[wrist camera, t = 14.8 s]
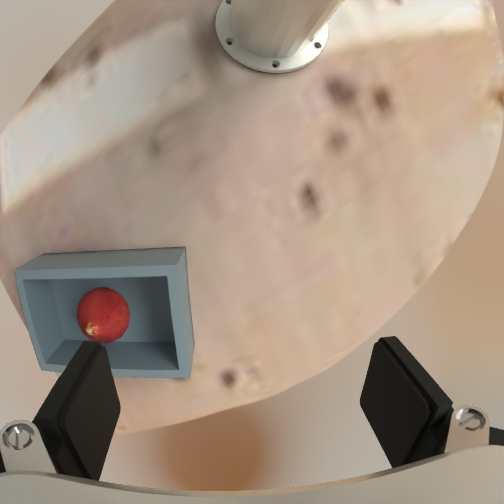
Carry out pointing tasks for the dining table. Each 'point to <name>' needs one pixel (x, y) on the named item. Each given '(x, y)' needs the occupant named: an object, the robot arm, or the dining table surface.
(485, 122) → the dining table surface
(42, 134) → the dining table surface
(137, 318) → the blue-grey open box
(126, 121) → the dining table surface
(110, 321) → the red round fruit
